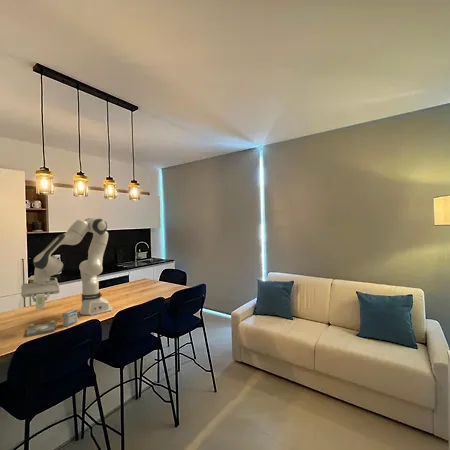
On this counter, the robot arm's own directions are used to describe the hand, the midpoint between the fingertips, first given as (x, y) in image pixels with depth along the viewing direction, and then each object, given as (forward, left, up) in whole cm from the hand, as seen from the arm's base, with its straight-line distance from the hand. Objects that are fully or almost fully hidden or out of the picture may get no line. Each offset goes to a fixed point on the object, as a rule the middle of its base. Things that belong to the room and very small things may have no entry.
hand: (40, 300), depth 162 cm
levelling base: (-1, +1, -18) cm, 18 cm away
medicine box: (-16, -1, -19) cm, 25 cm away
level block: (0, -1, -5) cm, 5 cm away
